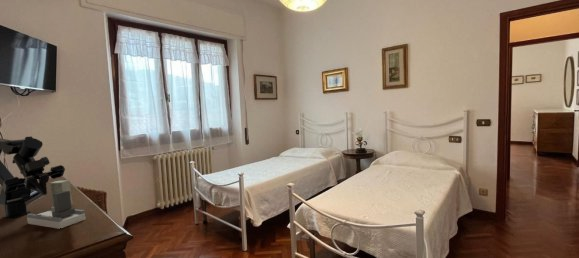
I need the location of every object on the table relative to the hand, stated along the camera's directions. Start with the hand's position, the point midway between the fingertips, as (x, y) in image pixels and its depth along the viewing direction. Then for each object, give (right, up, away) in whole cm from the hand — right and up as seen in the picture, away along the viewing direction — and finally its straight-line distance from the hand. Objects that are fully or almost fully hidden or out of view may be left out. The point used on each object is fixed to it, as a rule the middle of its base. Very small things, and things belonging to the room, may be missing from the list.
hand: (45, 194), depth 110 cm
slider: (+10, -7, -3) cm, 13 cm away
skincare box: (-7, -10, +17) cm, 22 cm away
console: (+6, -10, -1) cm, 12 cm away
